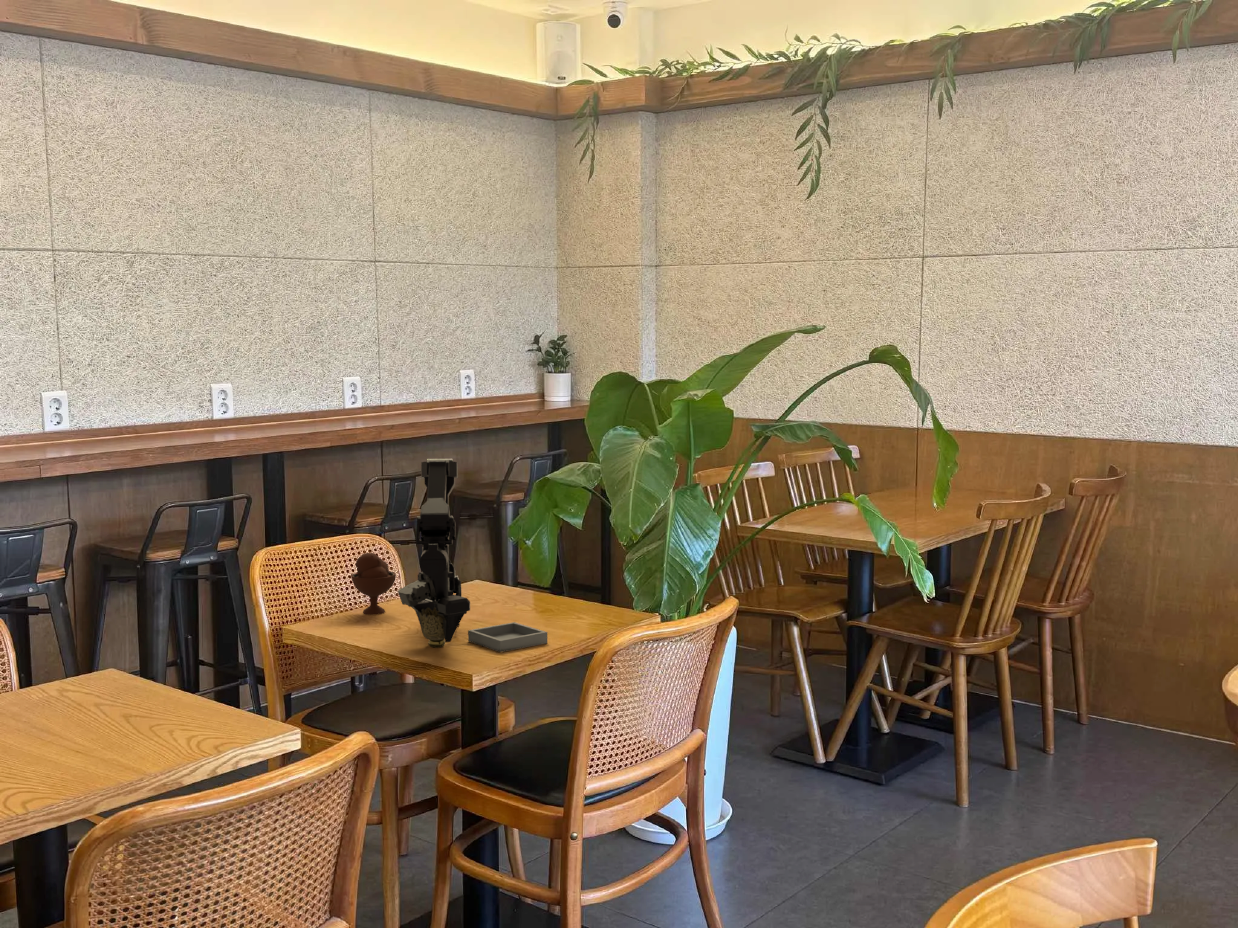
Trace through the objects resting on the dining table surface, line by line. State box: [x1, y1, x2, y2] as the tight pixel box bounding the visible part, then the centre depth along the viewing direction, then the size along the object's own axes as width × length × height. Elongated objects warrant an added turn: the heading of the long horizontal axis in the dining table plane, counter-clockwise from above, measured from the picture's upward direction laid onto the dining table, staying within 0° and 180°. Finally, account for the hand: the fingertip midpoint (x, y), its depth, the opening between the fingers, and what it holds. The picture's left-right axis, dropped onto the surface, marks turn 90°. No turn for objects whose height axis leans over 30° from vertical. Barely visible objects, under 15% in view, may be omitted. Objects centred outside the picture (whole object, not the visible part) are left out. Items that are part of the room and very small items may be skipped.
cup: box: [419, 608, 446, 649], centre depth 269 cm, size 8×7×8 cm
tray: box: [467, 621, 548, 653], centre depth 273 cm, size 13×13×2 cm
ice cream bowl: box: [350, 552, 397, 616], centre depth 303 cm, size 11×11×15 cm
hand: (436, 638), depth 270 cm, fingers open, 9 cm apart
